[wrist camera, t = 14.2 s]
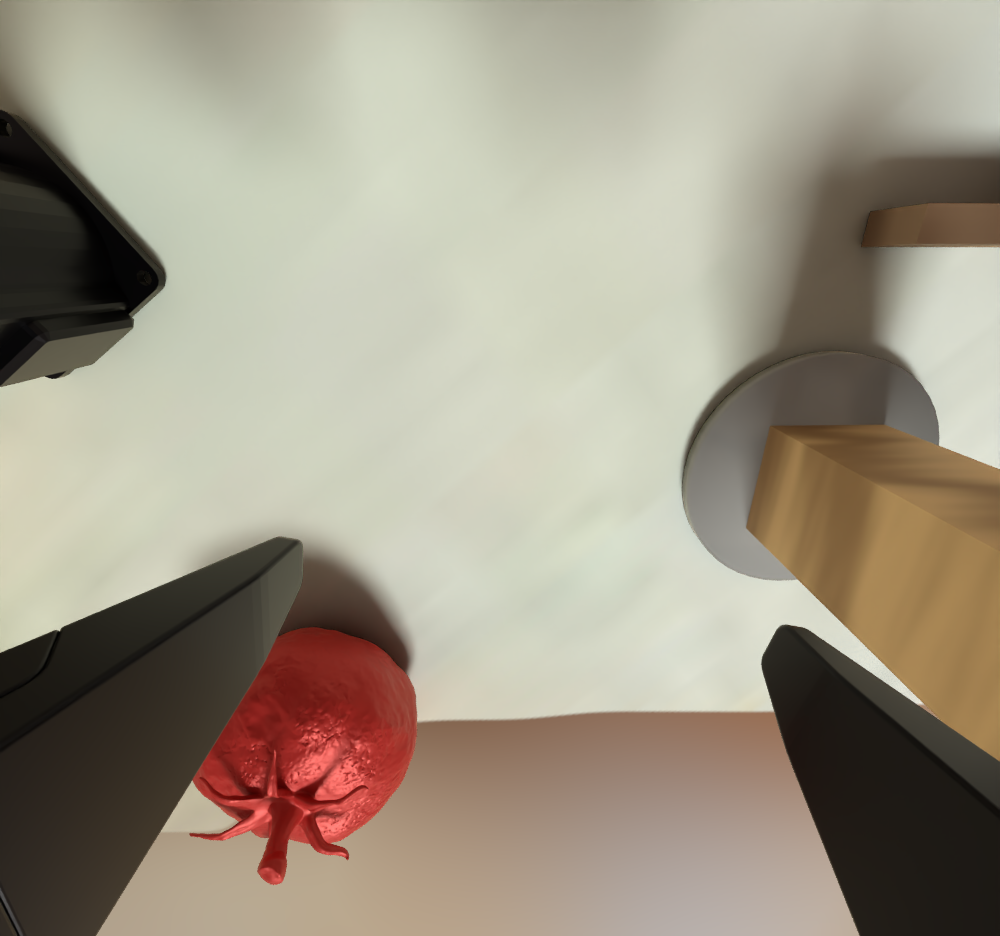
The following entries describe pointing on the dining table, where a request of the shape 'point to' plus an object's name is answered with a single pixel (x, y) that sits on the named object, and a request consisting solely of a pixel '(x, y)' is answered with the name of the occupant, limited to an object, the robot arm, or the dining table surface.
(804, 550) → the oak block
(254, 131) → the dining table surface
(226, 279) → the dining table surface
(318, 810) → the pomegranate
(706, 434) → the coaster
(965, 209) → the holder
